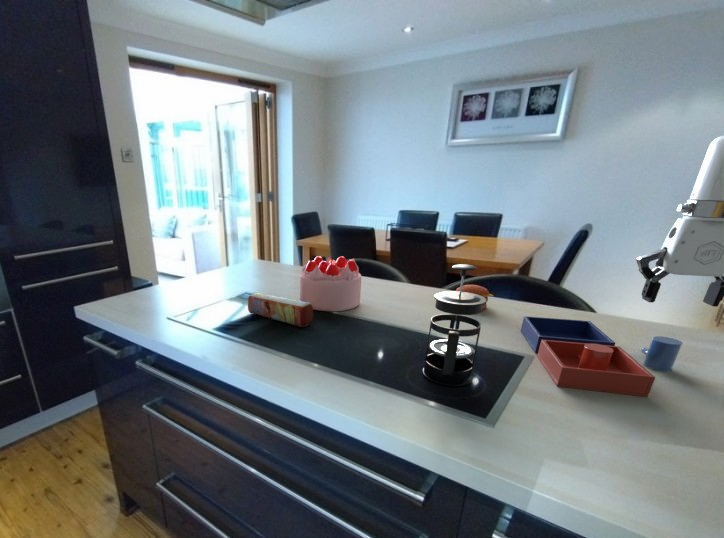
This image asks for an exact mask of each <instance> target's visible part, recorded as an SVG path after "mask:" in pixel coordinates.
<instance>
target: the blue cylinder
mask: <svg viewBox="0 0 724 538" xmlns="http://www.w3.org/2000/svg"><path fill="white" fill-rule="evenodd" d="M682 346H683V342H682V341H681V340H679V339H677V338H673V337H668V336H661V335H655V336H653V337H652V339H651V341H650V344H649V347H642V348H641V350H640V352H641V353H642V354H644V355H645V358H644V360H643V365H644V367H646V368H648V369H651V370H655V371H660V372H670V371H671V372H672V370H673V367H674V365H675V363H676V360H677V358H678V355H679V353H680V351H681V348H682Z"/></svg>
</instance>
